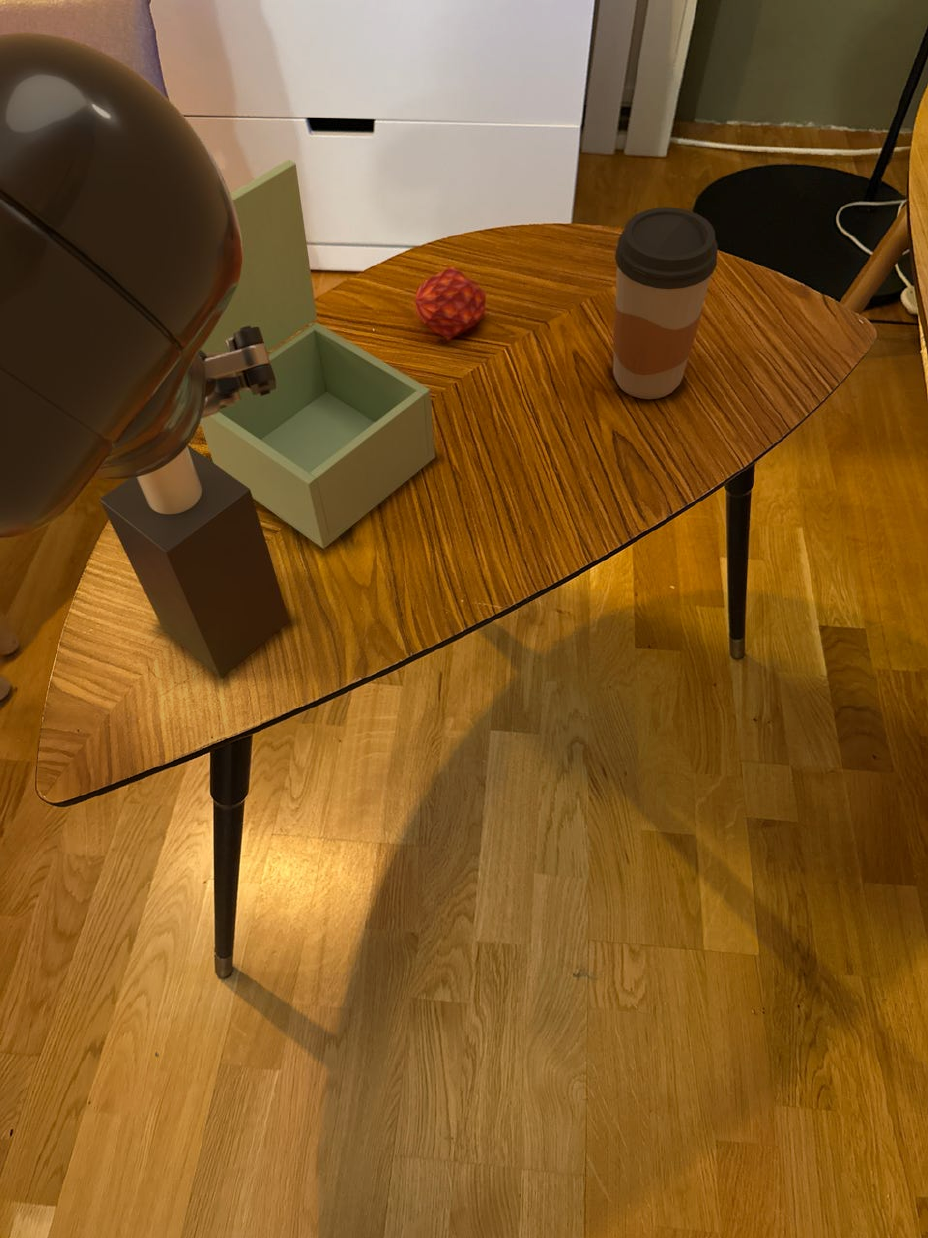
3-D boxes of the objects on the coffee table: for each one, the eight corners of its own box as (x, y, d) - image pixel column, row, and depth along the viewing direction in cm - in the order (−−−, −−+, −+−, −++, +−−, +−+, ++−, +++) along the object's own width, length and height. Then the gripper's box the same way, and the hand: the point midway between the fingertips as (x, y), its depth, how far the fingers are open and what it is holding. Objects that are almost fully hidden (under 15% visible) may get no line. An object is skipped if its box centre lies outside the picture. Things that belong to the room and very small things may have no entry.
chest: (435, 457, 87) (430, 389, 80) (323, 549, 81) (308, 483, 75) (327, 389, 92) (315, 321, 86) (216, 471, 86) (193, 404, 80)
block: (221, 679, 74) (166, 552, 62) (162, 629, 77) (98, 498, 64) (290, 621, 77) (250, 489, 65) (231, 575, 80) (182, 440, 67)
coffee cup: (707, 366, 92) (738, 221, 80) (668, 420, 88) (695, 276, 76) (626, 337, 95) (645, 192, 83) (585, 388, 91) (599, 244, 79)
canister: (170, 524, 63) (121, 406, 55) (134, 496, 64) (81, 377, 56) (214, 491, 65) (173, 371, 56) (178, 465, 66) (133, 344, 58)
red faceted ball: (484, 354, 98) (414, 351, 93) (459, 307, 100) (390, 302, 96) (512, 303, 93) (440, 298, 89) (485, 256, 96) (414, 248, 92)
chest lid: (296, 162, 73) (250, 136, 75) (150, 248, 67) (104, 218, 69) (317, 318, 85) (278, 293, 87) (195, 402, 79) (155, 373, 81)
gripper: (251, 232, 38) (242, 307, 54) (-134, 327, 35) (-26, 377, 51) (311, 423, 40) (285, 442, 55) (-55, 528, 37) (27, 516, 52)
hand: (136, 411), depth 53 cm, fingers open, 8 cm apart
